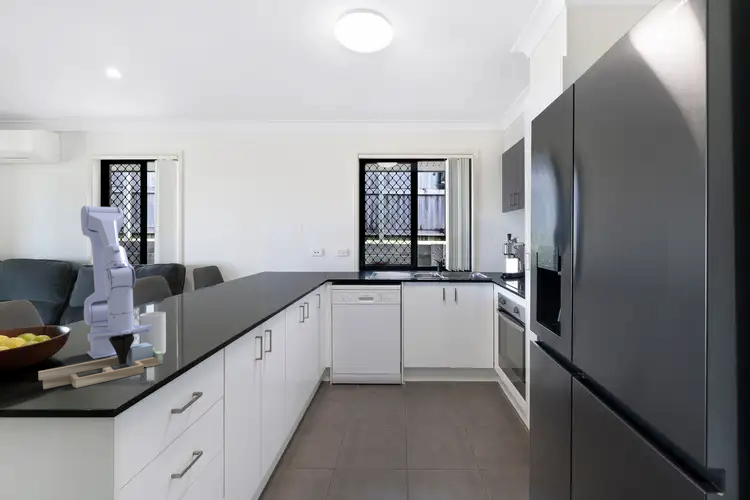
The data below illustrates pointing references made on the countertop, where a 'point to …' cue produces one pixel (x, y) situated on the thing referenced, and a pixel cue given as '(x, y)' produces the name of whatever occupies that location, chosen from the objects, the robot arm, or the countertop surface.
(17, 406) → the countertop surface
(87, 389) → the countertop surface
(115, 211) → the robot arm
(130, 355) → the block
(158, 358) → the beige flat frame
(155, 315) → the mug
